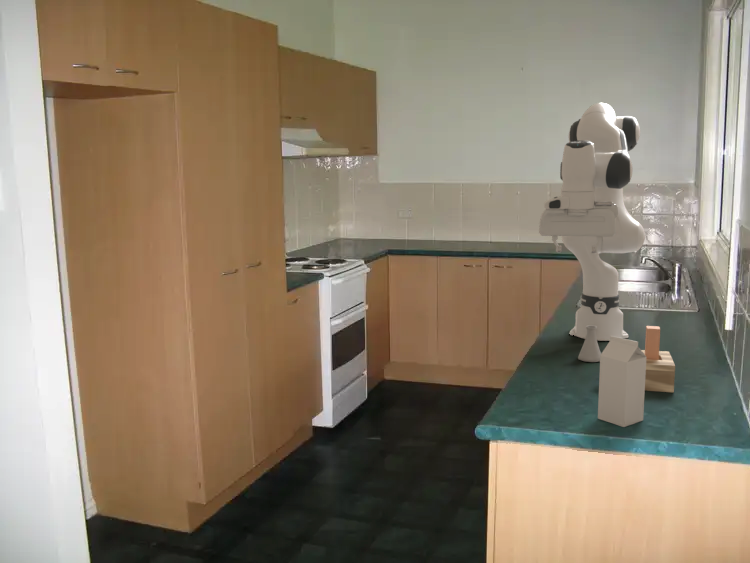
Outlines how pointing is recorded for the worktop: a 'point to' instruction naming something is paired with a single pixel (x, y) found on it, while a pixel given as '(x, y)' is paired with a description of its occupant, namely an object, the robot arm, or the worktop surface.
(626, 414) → the milk carton
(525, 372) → the worktop surface
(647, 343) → the long pin
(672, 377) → the tan block with hole
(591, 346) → the flask
